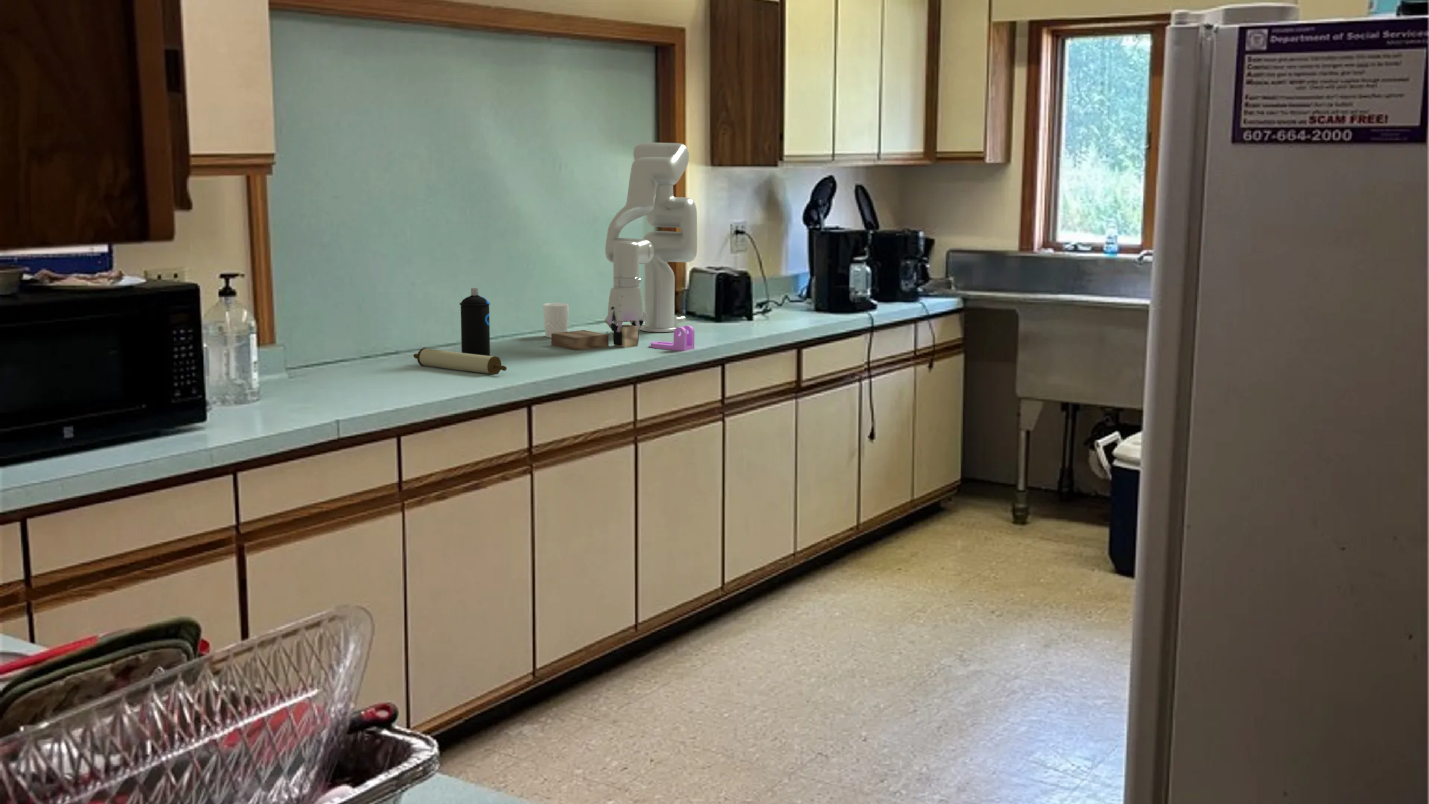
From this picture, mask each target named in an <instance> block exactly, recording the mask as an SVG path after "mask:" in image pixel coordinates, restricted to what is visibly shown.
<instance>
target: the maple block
mask: <svg viewBox="0 0 1429 804" xmlns="http://www.w3.org/2000/svg"><path fill="white" fill-rule="evenodd" d="M620 332H622V345H620V346H619V345H614V344H613V346H614V347H620V348H624V349H625V347H627V348H633V347H639V339H638V326H633V325H631V324H622V326H621V330H620Z"/></svg>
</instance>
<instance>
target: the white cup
mask: <svg viewBox="0 0 1429 804" xmlns="http://www.w3.org/2000/svg"><path fill="white" fill-rule="evenodd" d="M542 308H543V320H544V321H543V324H544V330H545V332H544V333H545V337H546V338H550V339H551V333H560V332H568V331H569V330H568V328H569V314H570V312H569V311H570V304H569V303H566V302H565V303H564V302H548V303H543V304H542Z"/></svg>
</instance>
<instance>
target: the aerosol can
mask: <svg viewBox="0 0 1429 804" xmlns="http://www.w3.org/2000/svg"><path fill="white" fill-rule="evenodd" d="M490 305H491V302H489V300H488V299H487V298H485V297H484V296H481V295H479V288H478V287H471V288H470V295H469V296H466V297H465V298H464V299H462V300H461V302H459V306H460V334H461V335H460V336H461V337H460V338H461V339H460V341H461V342H460V346H461V353H467V354H476V355H485V356H491V345H490V344H491V337H490V336H491V334H490V332H491V331H490V330H491V329H490V327H491V326H490V325H491V324H490Z"/></svg>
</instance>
